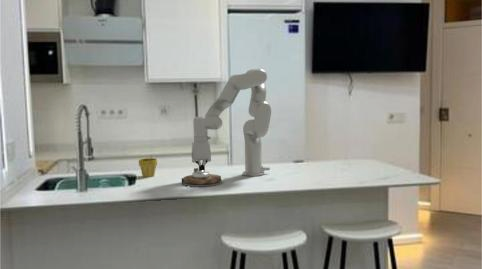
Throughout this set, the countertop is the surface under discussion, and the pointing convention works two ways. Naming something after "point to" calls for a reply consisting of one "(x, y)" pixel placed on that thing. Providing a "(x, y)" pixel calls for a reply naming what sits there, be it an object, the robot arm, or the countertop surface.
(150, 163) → the plant pot
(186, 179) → the turntable
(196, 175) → the cover
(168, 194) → the countertop surface
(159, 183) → the countertop surface
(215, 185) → the turntable base
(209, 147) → the robot arm
